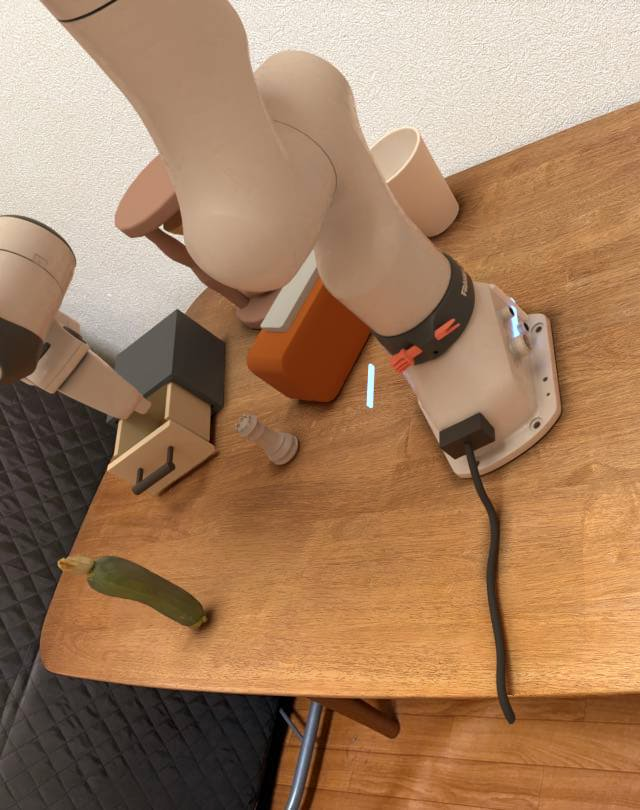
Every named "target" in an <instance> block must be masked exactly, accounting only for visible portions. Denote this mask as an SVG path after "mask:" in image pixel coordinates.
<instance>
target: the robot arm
mask: <svg viewBox="0 0 640 810" xmlns="http://www.w3.org/2000/svg"><path fill="white" fill-rule="evenodd" d="M39 2H40V3H41V4H42V5H43V6H44V7H45V8H46V9H47V11H48V12H49V13H50V14H51V15H52V16H53V17H54V18H55V19H56V21H58V23H59V24H60V25H61V26H62V27H63V28H64V29H65V30H66V31H67V32H68V33H69V35H70V36H71V37H72V38H73V39H74V40H75V41H76V42H77V43H78V44H79V46H80V47H81V48H82V49H83V50H84V51H85V53H86V54H87V55H88V56H89V57H90V58H91V59H92V60H93V62H95V63H96V65H97V66H98V67H99V68H100V69H101V71H102V72H103V73H104V74H105V75H106V76H107V77H108V79H110V81H111V82H112V83H113V84H114V86H115V87H117V89H118V90H119V91H120V92H121V93H122V94H123V96H124V98H125V99H126V100H127V101H128V103H129V104H130V105H131V107H132V108H133V109H134V111H135V112H136V114H137V115H138V117H139V119H140V120H141V122H142V124H143V125H144V127H145V129H146V131H147V132H148V134H149V136H150V138H151V140H152V142H153V144H154V145H155V148H156V150H157V152H158V155H159V154H160V156H161V158H162V160H163V162H164V165H165V167H166V169H167V171H168V174H169V176H170V179H171V181H172V184H173V187H174V189H175V192H176V196H177V199H178V202H179V207H180V212H181V217H182V224H183V235H182V236H183V242H184V243H183V244H184V245H185V246H186V249H187V251H188V253H189V254H190V256H191V257H192V259H193V260H194V261H195V263H196V264H197V265H198V266H199V267H200V268H201V269H202V270H203V271H204V272H205V273H206V274H208V275H209V276H210V277H212V278H213V279H215V280H216V281H218V282H220V283H222V284H224V285H226V286H229V287H231V288H234V289H238V290H242V291H249V292H265V291H271V290H276V289H279V288H281V287H284V286H285V285H287V284H288V283H289V282H290V281H291V280H292V279H293V278H294V276H295V275H296V274H297V272H298V271H299V269H300V268H301V267H302V265H303V264H304V262H305V261H306V259H307V258H308V256H309V255H310V253H311V252H312V250H314V254H315V259H316V265H317V269H318V273H319V275H320V278H321V280H322V282H323V284H324V286H325V287H326V289H327V290H328V291H329V292H330V293H331V294H332V295H333V296H334V297H335V298H336V299H337V300H339V301H340V302H341V303H342V304H343V305H344V306H346V307H347V308H348V309H349V310H350V311H351V312H352V313H354V314H355V315H356V316H357V317H358V318H359V319H361V320H362V321H363V322H364V323H365V324H366V325H368V326H369V328H370V330H371V334H372V335H373V336H374V338H375V339H376V341H377V342H378V343H379V345H380V346H381V347H382V348H383V349H384V351H386V352H387V353H388V354H389V355H390V357H389V361H388V362H389V363H390V365H391V367H392V369H393V370H394V371H395V372H396V373H398V374H402V375H403V377H404V378H405V380H406V381H407V383H408V385H409V386H410V388H411V390H412V391H413V393H414V395H415V397H416V398H417V404H418V406H419V408H420V410H421V412H422V414H423V415H424V418H425V420H426V421H427V423H428V425H429V426H430V430H431V431H432V433H433V435H434V437H435V438H436V440H437V443H438V444H439V449H440V450H441V451H442V452H443V454H444V456H445V458H446V460H447V462H448V464H449V466H450V467H451V469H452V471H453V473H454V474H455V475H456V476H457V478H459V479H472V481H473V486H474V489H475V491H476V494H477V496H478V497H479V499H480V502H481V503H482V505H483V507H484V509H485V511H486V514H487V517H488V520H489V527H490V542H489V549H488V556H487V563H486V571H485V574H486V575H485V580H486V581H485V582H486V596H487V604H488V608H489V610H488V611H489V616H490V620H491V626H492V631H493V637H494V638H493V639H494V645H495V655H496V657H495V659H496V663H495V664H496V666H495V667H496V668H495V670H496V671H495V686H496V694H497V699H498V703H499V706H500V708H501V711H502V713H503V715H504V718H505V719H506V721H507V723H508V724H509V725H514V723H515V722H516V720H517V719H516V713H515V712H514V709H513V707H512V704H511V702H510V699H509V695H508V690H507V681H506V680H507V679H506V675H507V654H506V643H505V638H504V632H503V626H502V619H501V616H500V609H499V603H498V597H497V590H496V589H497V587H496V566H497V559H498V558H497V557H498V551H499V545H500V544H499V543H500V525H499V519H498V515H497V511H496V509H495V507H494V504H493V501H492V500H491V499H490V497H489V495H488V492H487V491H486V489H485V486H484V484H483V480H482V477H481V476H483V475H486V474H489V473H490V472H493V471H494V470H497V469H499V468H500V467H503V466H504V465H506V464H508V463H509V462H511V461H513V460H514V459H516V458H517V457H518V456H520V455H522V454H523V453H525V452H527V450H529V449H530V448H531V447H533V446H534V445H535V444H536V443H537V442H539V441H540V440H541V439H542V438H543V437H544V436H545V435H546V434H547V433H548V432H549V431H550V430H551V428H552V427H553V426H554V425H555V423H556V422H557V420H558V419H559V418H560V416H561V414H562V403H561V394H560V386H559V379H558V371H557V363H556V356H555V355H556V354H555V349H554V339H553V333H552V323H551V320H550V318H549V317H547V316H546V315H545V314H544V313H540V312H539V313H529V314H528V313H526V312H525V311H524V310H523V309H522V308H521V307H520V306H519V305H518V304H517V303H516V301H515V300H514V299H513V298H512V297H510V296H509V295H507V293H505V292H504V291H503V290H502V289H501V288H500V287H499V286H498V285H496V284H493V283H487V282H481V281H478V280H475V279H472V277H471V275H469V273H468V272H467V271H466V270H465V268H464V267H463V266H462V265H461V263H459V262H458V261H457V260H456V259H454V258H453V257H451V256H450V255H449V254H448V253H447V252H443V251H441V250H440V249H439V248H438V247H437V246H436V245H435V244H434V243H433V242H432V241H431V240H430V238H429V237H427V236H426V235H425V234H424V233H423V232H422V231H421V230H420V229H419V228H418V227H417V225H416V224H415V223H414V222H413V221H412V220H411V219H410V218H409V217H408V215H407V214H406V213H405V211H404V210H403V209H402V207H401V206H400V204H399V203H398V201H397V200H396V198H395V197H394V195H393V193H392V192H391V190H390V188H389V186H388V185H387V183H386V181H385V179H384V177H383V175H382V173H381V171H380V169H379V167H378V165H377V163H376V161H375V159H374V157H373V155H372V153H371V151H370V149H369V148H370V147H369V145H368V143H367V140H366V138H365V135H364V133H363V130H362V127H361V124H360V123H361V122H360V120H359V117H358V111H357V107H356V101H355V95H354V92H353V89H352V87H351V85H350V83H349V81H348V80H347V78H346V77H345V76H344V74H342V72H341V71H340V70H339V69H338V68H337V67H336V66H335V65H333V64H332V63H331V62H329V61H328V60H326V59H324V58H323V57H321V56H319V55H316V54H314V53H311V52H307V51H303V50H295V49H294V50H293V49H292V50H291V49H290V50H283V51H279V52H276V53H273V54H272V55H271V56H269V57H268V58H267V59H265V60H264V62H262V63H261V64H260V65H259V66H258V67H257V69H255V70H254V71H253V66H252V62H251V55H250V45H249V38H248V35H247V31H246V28H245V25H244V23H243V20H242V19H241V17H240V15H239V13H238V12H237V10H236V9H235V7H234V6H233V5H232V3H231V2H230V1H229V0H39ZM76 267H77V258H76V255H75V252H74V250H73V249H72V247H71V246H70V244H69V243H68V242H67V240H66V239H65V238H64V237H63V236H62V235H61V234H60V233H59V232H57V231H56V230H55V229H53V228H52V227H51V226H49V225H47V224H45V223H43V222H41V221H40V220H37V219H34V218H32V217H28V216H26V215H21V214H2V215H1V214H0V387H1V386H6V385H10V384H12V383H16V382H18V381H21V382H23V383H25V384H27V385H29V386H35V387H38V388H40V389H41V390H43V391H45V392H47V393H49V394H50V395H51V394H55V393H56V392H57V391H58V392H59V393H61V394H63V395H65V396H67V397H69V398H70V399H72V400H75V401H76V402H78V403H81V404H83V405H86V406H88V407H90V408H92V409H94V410H96V411H99V412H100V413H103V414H105V415H106V416H107V415H110V416H112V417H115V418H119V419H127V418H128V417H129V416H130V415H131V413H132V412H133V411H134V410H135V411H137V412H138V413H140V414H145V413H146V412H147V411H148V410H149V408H150V407H151V402H150V401H148V400H147V399H146V398H145V397H144V396H143V395H142V394H141V392H140V391H138V390H137V389H136V388H135V387H134V386H132V385H131V384H130V383H129V382H128V381H126V380H125V379H124V378H123V377H122V376H121V375H120V374H118V373H117V372H116V371H115V368H113V367H112V366H111V365H109V364H108V363H107V362H106V361H105V360H104V359H102V358H101V357H100V356H99V355H98V354H97V353H95V352H94V351H92V350H91V348H90V345H89V344H88V343H87V341H86V339H85V338H84V337H83V334H82V331H81V325H80V323H79V321H77V320H76V319H74V318H73V317H71V316H70V315H68V314H66V313H65V312H63V311H62V310H60V308H61V306H62V305H63V301H64V298H65V297H66V294H67V292H68V290H69V287H70V285H71V283H72V280H73V278H74V274H75V269H76ZM367 372H368V374H367V394H366V406H367V407H368V408H370V409H372V408H374V389H375V388H374V386H375V383H374V382H375V365H373V364H372V363H369V364H368V371H367Z"/></svg>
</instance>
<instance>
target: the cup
mask: <svg viewBox="0 0 640 810" xmlns="http://www.w3.org/2000/svg"><path fill="white" fill-rule="evenodd" d="M369 149H370V151H371V153H372V155H373V157H374V159H375V161H376V163H377V165H378V167H379V169H380V171H381V173H382V175H383V177H384V179H385V181H386V183H387V185H388V186H389V188H390V190H391V192H392V193H393V195H394V197H395V198H396V200H397V201H398V203H399V204H400V206H401V207H402V209H403V210H404V211H405V213H406V214H407V215H408V217H409V218H410V219H411V220H412V221H413V222H414V223H415V224H416V225H417V227H418V228H419V229H420V230H421V231H422V232H423V233H424V234H425V235H426V237H427V238H430V237H431V238H432V237H435V236H438V235H440V234H442V233H443V232H444V231H446V230H447V229H449V227H451V225H452V224H453V222H455V220H456V218H457V216H458V214H459V211H460V205H459V203H458V201H457V199H456V197H455V196H454V193H453V192H452V190H451V188H450V186H449V184H448V183H447V180H446V178H445V177H444V175H443V174H442V171H441V170H440V168H439V166H438V164H437V163H436V161H435V159H434V157H433V156H432V153H431V151H430V150H429V148H428V146H427V144H426V143H425V141H424V139H423V137H422V135H421V132H420V130H419V129H418V128H416V127H415V126H412V125H403V126H399V127H397V128H395V129H392V130H390V131H389V132H387V133H386V134H384V135H382V137H380V138H379V139H377V140H376V141H375V142H374V143H373V144H372V145H371V146H370V147H369Z"/></svg>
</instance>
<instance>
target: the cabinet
mask: <svg viewBox="0 0 640 810" xmlns="http://www.w3.org/2000/svg"><path fill="white" fill-rule="evenodd" d="M225 346H226V342H225V341H223V340H222V339H221V338H219V337H218V336H216V335H215V334H213V333H212V332H211V331H209V329H206V327H204V326H202V325H201V324H200V323H198V322H197V321H195V320H194V319H193V318H191V317H189V316H188V315H187V314H185V313H184V312H183V311H181V310H180V309H179V308H176V309H174V310H173V311H172V312H171V313H169V314H168V315H166V316H165V317H164V318H163V319H161V320H160V321H159V322H158V323H157V324H155V325H154V326H153V327H151V328H150V329H149V330H148V331H146V332H145V333H143V335H141V336H140V337H138V338H137V339H136V340H135V341H133V342H132V343H131V344H129V345H128V346H127V347H126V348H124V349H123V350H122V351H121V352H120V353H118V354H117V355H116V359H115V364H114V370H115V371H116V372H117V373H118V374H120V375H121V376H122V377H123V378H124V379H125V380H126V381H128V382H129V383H130V384H131V385H132V386H134V387H135V388H136V389H137V390H138V391H140V392H141V394H142V395H143V396H144V397H145V398H148V397H149V396H150V395H152V394H153V393H154V392H156V391H157V390H158V389H160V388H161V387H162V386H164V385H165V384H166V383H168V382H169V381H170V380H172V379H173V380H174V381H176V382H177V383H179V384H180V385H182V386H183V387H185V388H187V389H188V390H190V391H191V392H193V393H194V394H196V395H198V396H199V397H201V398H202V399H204V400H205V401H207V402H208V403H210V404H211V415H210V417H212V416H213V415H215V414H216V413H217V412H219V411H220V410H222V409H223V408H224V399H225V398H224V395H225V394H224V393H225V353H226V352H225V349H226V347H225ZM105 423H106V424H107V425H109V426H111V427H113V428H114V429H116V430H118V424H119V418H115V417H112V416H110V415H107V414H106V421H105Z"/></svg>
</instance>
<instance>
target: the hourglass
mask: <svg viewBox="0 0 640 810" xmlns="http://www.w3.org/2000/svg"><path fill="white" fill-rule="evenodd" d="M161 226H162V228H163V229H161ZM114 227H116V228H117V229H118V230H119V231H120V232H121V233H123V234H124V235H125V236H127V237H128V238H130V239H137V238H143V237H145V238H146V239H148V240H149V241H150V242H151V243H152V244H154V245H155V246H156V247H157V248H158V249H159V251H161V252H162V253H163V254H164V255H165V256H166V257H167V258H169V259H170V260H172V261H173V262H176V263H178V264H180V265H182V266H185V267H187V268H190V269H191V271H192V272H193V273H194V275H195V276H196V277H197V279H198V280H199V281H200V282H201V283H202V284H203V285H205V286H206V287H207V288H208V289H211V291H214V292H216V293H218V294H219V295H221V296H222V297H224V298H225V299H226V300H228V301H229V302H230V303H232V304H233V305H234V309H235V313H236V318H237V319H238V320H239V321H240V322H242V323H243V325H245V326H247V327H248V328H250V329H251V330H262V328H261V324H262V322H263V320H264V319H265V317H266V315H267V313H268V312H269V310H270V308H271V307H272V305H273V303H274V302H275V300H276V298H277V296H278V295H279V293H280V291H281V290H282V288H283V287H281V288H279V289H276V290H271V291H265V292H249V291H242V290H238V289H234V288H231V287H229V286H226V285H224V284H222V283H220V282H218V281H216V280H215V279H213V278H212V277H210V276H209V275H208V274H206V273H205V272H204V271H203V270H202V269H201V268H200V267H199V266H198V265H197V264H196V263H195V261H194V260H193V259H192V257H191V256H190V254H189V253H188V251H187V249H186V246H185V243H183V242H181V241H180V240H179V239H177V238H175V237H174V236H172V235H178V236H184V235H183V224H182V217H181V212H180V207H179V202H178V199H177V196H176V192H175V189H174V187H173V184H172V181H171V179H170V176H169V174H168V171H167V169H166V167H165V165H164V162H163V160H162V158H161V156H160V154H159V153H158V154H157V155H156V156H155V157H154V158H153V159H152V160H151V161H150V162H149V163H148V164H146V166H145V167H144V168H143V169H142V170H141V171H140V172H139V174H138V175H137V176H136V178H135V179H134V180H133V181H132V182H131V184H130V185H129V186H128V188H127V189H126V191H125V193H124V194H123V196H122V197H121V199H120V201H119V203H118V206H117V207H116V211H115V213H114ZM166 232H168V233H166ZM169 233H170V234H169ZM171 234H172V235H171Z"/></svg>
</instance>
